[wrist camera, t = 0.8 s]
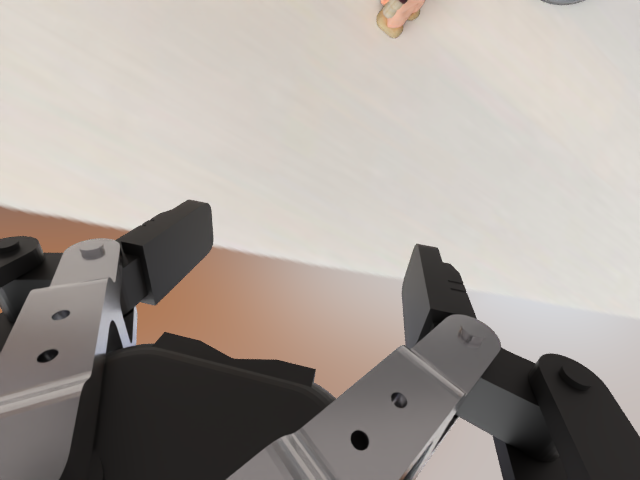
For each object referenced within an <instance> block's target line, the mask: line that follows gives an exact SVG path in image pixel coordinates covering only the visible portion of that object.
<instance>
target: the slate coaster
mask: <svg viewBox="0 0 640 480" xmlns="http://www.w3.org/2000/svg"><path fill="white" fill-rule="evenodd" d="M541 1H544V2H547V3H550V4H556V5H570V4H575V3H579V2H582V1H585V0H541Z"/></svg>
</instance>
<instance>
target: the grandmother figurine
mask: <svg viewBox="0 0 640 480" xmlns="http://www.w3.org/2000/svg"><path fill="white" fill-rule="evenodd" d="M424 2H425V0H381V4H383V5H384V7H383V9H382V10H381V11H380V12H379V14H378V16H377V24H378V26H379V28H380V29H382V30H383V31H384V32H385V33H386V34H387V35H389V36H390V37H392V38H397V37H398V36H399V35H400V34H401V33H402V31H403V24H404V23H405V22H406V20H409V21H412V20H414V19H416V18H417V17H418V16H419V14H420V8H421V6H422V5H423V4H424Z"/></svg>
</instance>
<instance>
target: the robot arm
mask: <svg viewBox="0 0 640 480" xmlns="http://www.w3.org/2000/svg"><path fill="white" fill-rule="evenodd" d="M212 245H213V226H212V213H211V207H210V205H209V204H208V203H204V202H199V201H194V200H187V201H185V202H184V203H182V204H180V205H179V206H177V207H175V208H174V209H172V210H169V211H166V212H163V213H160V214H158V215H157V216H155V217H153V218H152V219H151V220H150V221H149V220H148V221H147V222H145V223H143V224H142V226H141V225H140V226H138V227H137V228H135V229H133V230H132V231H130V232H128V233H127V234H125V235H123V236H122V237H120V238H119V239H117V240H111V239H91V240H86V241H82V242H80V243H77V244H74V245H72V246H71V247H69V248H68V249H66V250H65V252H64V253H43V251H42V249H41V246H40V244H39V241H38V240H37V239H35V238H32V237H26V236H18V237H9V238H3V239H0V307H1V309H2V311H3V312H2V313H0V480H415V479H416V478H417V476H418V475H419V473H420V472H421V470H422V469H423V467H424V466H425V464H426V463H427V461H428V460H429V459H430V457H431V456H432V454H433V453H434V452H435V450H436V449H437V447H438V446H439V445H440V443H441V442H442V440H443V439H444V437H445V436H446V435H447V434H448V432H449V431H450V429H451V428H452V427H453V425H454V424H455V422H456V421H457V420H458V418H459V417H460V418H462V419H464V420H466V421H468V422H469V423H471V424H473V425H475V426H477V427H478V428H480V429H482V430H484V431H486V432H488V433H489V434H491V435H493V439H494V443H495V447H496V452H497V455H498V460H499V464H500V468H501V472H502V476H503V480H640V437H639V435H638V434H637V432H636V431H635V429H634V428H633V426H632V425H631V423H630V421H629V420H628V418H627V417H626V416H625V414H624V412H623V411H622V409H621V408H620V406H619V405H618V403H617V402H616V400H615V399H614V397H613V395H612V394H611V392H610V391H609V389H608V388H607V387H606V385H605V384H604V383H603V382H602V380H600V379H599V378H598V377H597V376H596V375H595V374H594V373H593V372H592V371H590V370H589V369H588V368H586V367H585V366H583V365H582V364H580V363H578V362H576V361H574V360H572V359H570V358H568V357H565V356H562V355H558V354H545V355H543V356H541V357H540V359H539V360H538V361H537V363H536V364H535V363H533V362H531V361H529V360H526V359H524V358H522V357H519V356H517V355H515V354H513V353H511V352H509V351H507V350H505V349H503V348H501V343H500V340H499V338H498V337H497V335H496V334H495V332H494V331H493V330H492V329H491V328H490V327H488V326H487V325H486V324H484V323H483V322H481V321H479V320H477V318H476V316H475V313H474V310H473V308H472V305H471V303H470V300H469V297H468V295H467V293H466V289H465V287H464V285H463V281H462V279H461V276H460V273H459V272H458V271H457V270H456V269H455V268H454V267H453V266H452V265H451V264H448V263H443V262H442V259H441V256H440V253H439V250H438V248H436V247H431V246H426V245H421V244H416V245H415V247H414V249H413V252H412V255H411V259H410V262H409V265H408V268H407V271H406V274H405V277H404V281H403V286H402V303H403V317H404V330H405V341H406V346H405V345H402V346H400V347H398V348H397V349H396V350H395V351H393V352H392V353H391V354H390V355H389V356H387V357H386V358H385V359H384V360H383V361H381V362H380V363H379V364H378V365H377V366H375V367H374V368H373V369H372V370H371V371H369V372H368V373H367V374H366V375H365V376H363V377H362V378H361V379H360V380H359V381H357V382H356V383H355V384H354V385H353V386H351V387H350V388H349V389H348V390H346V391H345V392H344V393H343V394H342V395H340V396H339V397H338V398H337V399H336V398H335V397H333V396H332V395H331V394H330V393H329V392H328V391H326V390H325V389H324V388H322V387H321V386H319V385H317V384H316V383H314V377H315V370H316V369H312V368H308V367H304V366H300V365H296V364H292V363H288V362H284V361H280V360H261V359H233V358H231V357H229V356H227V355H225V354H223V353H221V352H220V351H218V350H216V349H214V348H212V347H211V346H209V345H207V344H205V343H203V342H201V341H199V340H195V339H191V338H187V337H183V336H178V335H175V334H171V333H167V332H164V334H163V335H162V336H161V337H160V338H159V339H158V340H157V341H156V343H155V344H141V345H136V333H137V310H136V305H137V304H138V303H139V302H142V303H147V304H151V305H156V304H157V303H158V302H159V301H160V300H161V299H163V297H164V296H166V295H167V294H168V293H169V292H170V291H171V290H172V289H173V288H174V287H175V286H176V285H177V284H178V283H179V282H180V281H181V280H182V279H183V278H184V277H185V276H186V275H187V274H188V273H189V272H190V271H191V270H192V269H193V268H194V267H195V266H196V265H197V264H198V263H199V262H200V261H201V260H202V259H203V258H204V257H205V256H206V255H207V254H208V253H209V251H210V250H211V248H212Z"/></svg>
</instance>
